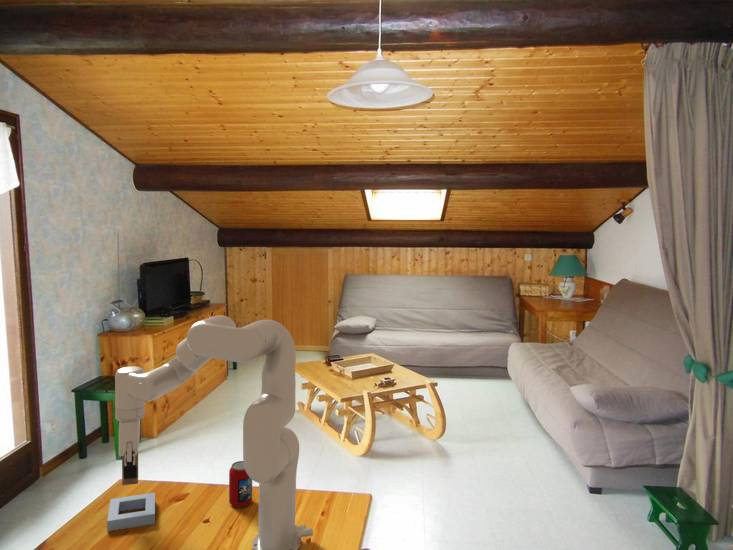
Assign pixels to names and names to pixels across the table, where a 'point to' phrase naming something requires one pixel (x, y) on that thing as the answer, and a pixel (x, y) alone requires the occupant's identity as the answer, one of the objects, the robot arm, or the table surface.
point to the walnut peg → (132, 480)
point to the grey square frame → (133, 518)
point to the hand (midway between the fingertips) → (130, 473)
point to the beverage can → (239, 485)
